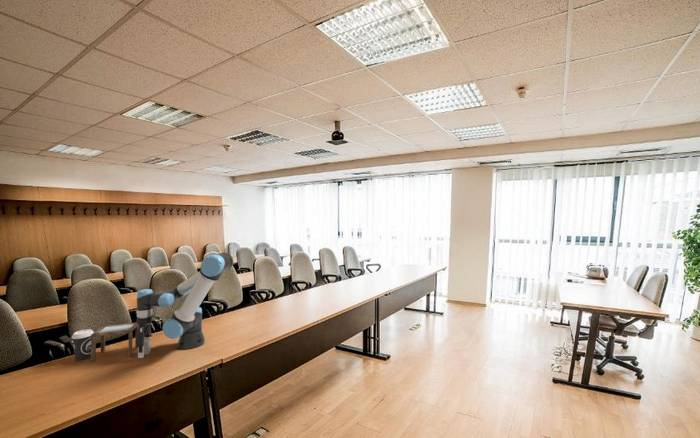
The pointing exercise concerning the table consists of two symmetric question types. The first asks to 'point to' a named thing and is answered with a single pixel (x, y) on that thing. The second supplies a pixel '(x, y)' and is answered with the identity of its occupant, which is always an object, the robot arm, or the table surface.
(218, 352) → the table surface
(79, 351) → the coffee cup
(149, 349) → the stone
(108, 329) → the hatch
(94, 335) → the hatch frame
